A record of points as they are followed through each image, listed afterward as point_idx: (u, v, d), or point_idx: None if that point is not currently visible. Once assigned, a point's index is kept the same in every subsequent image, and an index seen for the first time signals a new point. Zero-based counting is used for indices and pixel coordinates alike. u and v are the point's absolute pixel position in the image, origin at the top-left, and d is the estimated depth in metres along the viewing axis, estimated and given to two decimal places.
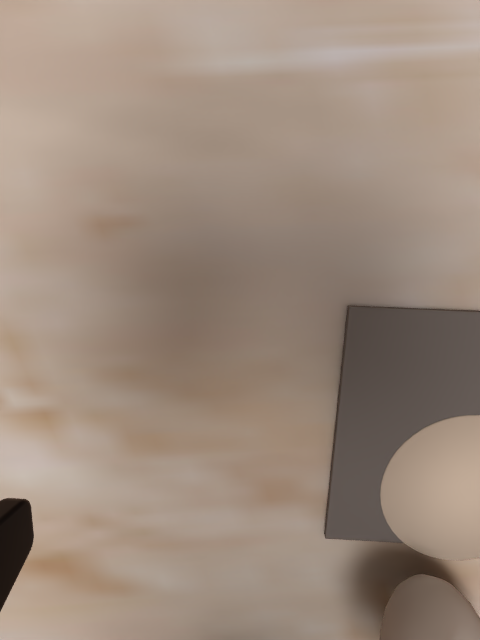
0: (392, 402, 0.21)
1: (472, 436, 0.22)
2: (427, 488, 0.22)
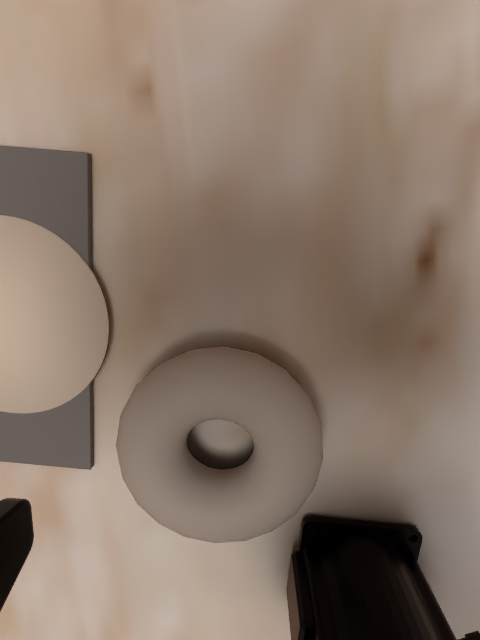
0: None
1: None
2: (8, 362, 0.19)
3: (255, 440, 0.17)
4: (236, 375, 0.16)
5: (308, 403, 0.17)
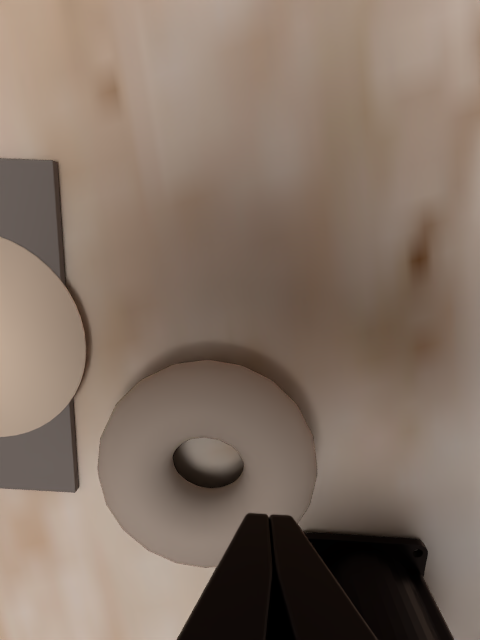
0: None
1: None
2: None
3: (243, 458, 0.16)
4: (219, 391, 0.15)
5: (298, 417, 0.16)
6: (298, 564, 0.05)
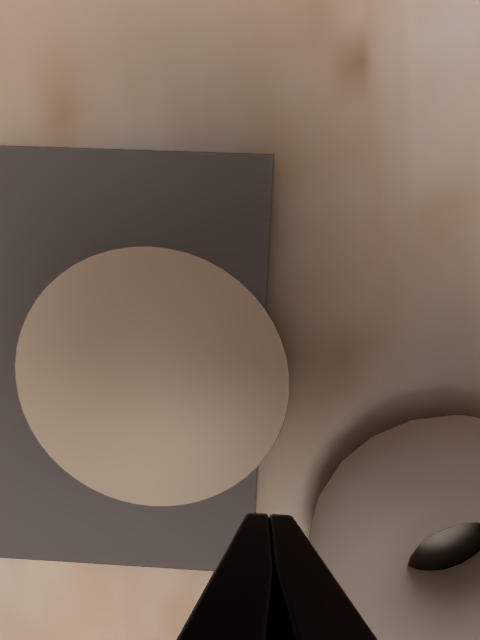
0: (17, 496, 0.15)
1: (51, 385, 0.14)
2: (149, 442, 0.14)
3: None
4: None
5: None
6: (298, 564, 0.05)
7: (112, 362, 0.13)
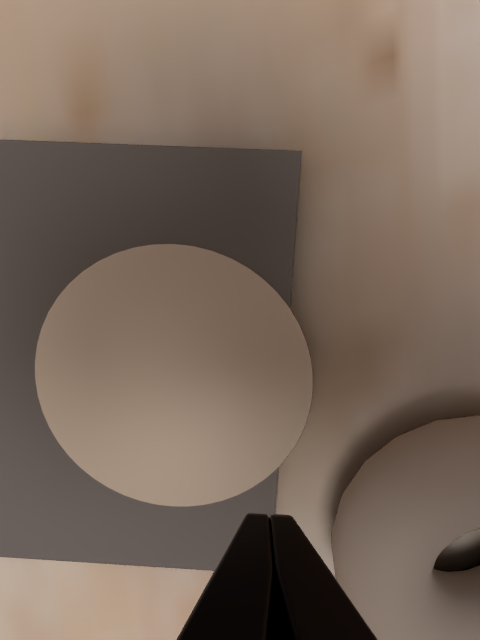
0: (34, 496, 0.15)
1: (71, 384, 0.13)
2: (170, 441, 0.14)
3: None
4: None
5: None
6: (298, 564, 0.05)
7: (133, 361, 0.13)
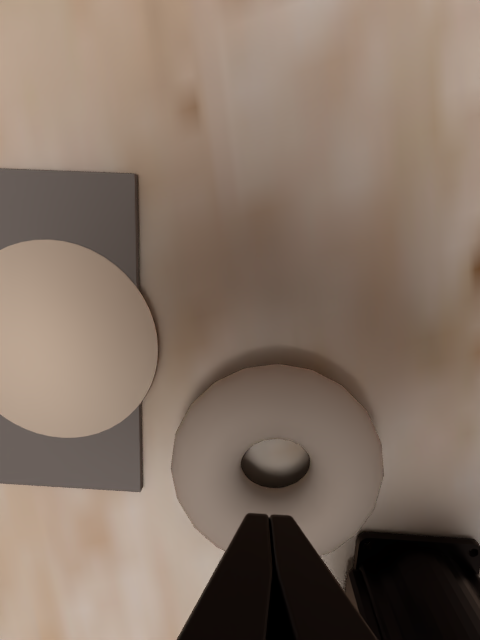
0: None
1: None
2: (57, 387, 0.18)
3: (315, 459, 0.16)
4: (296, 394, 0.15)
5: (368, 419, 0.16)
6: (298, 564, 0.05)
7: (26, 326, 0.18)
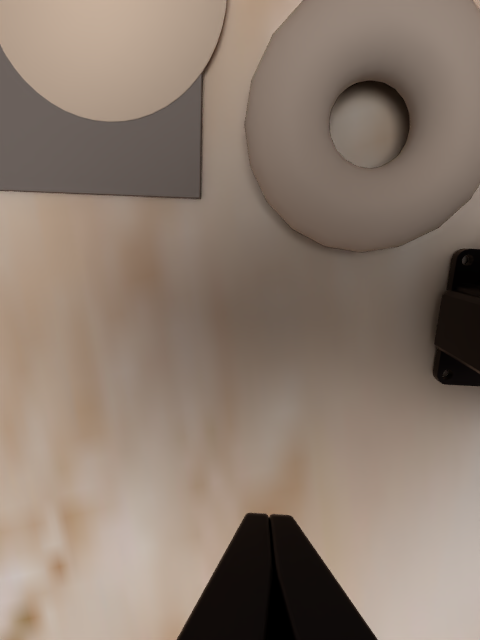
0: None
1: None
2: (104, 48, 0.15)
3: (427, 87, 0.14)
4: None
5: None
6: (298, 564, 0.05)
7: None
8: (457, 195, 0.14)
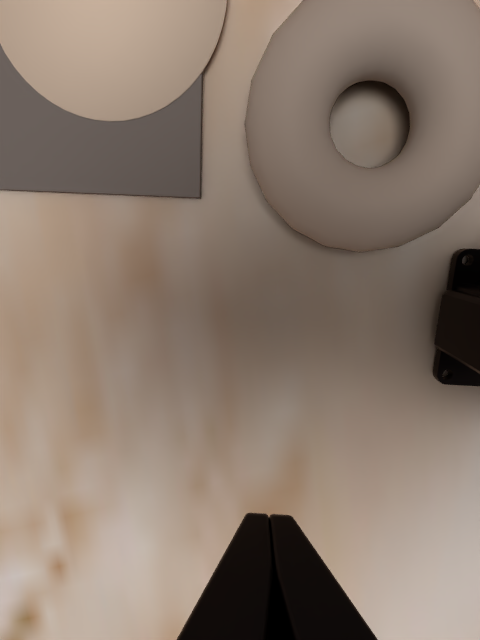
0: None
1: None
2: (104, 48, 0.15)
3: (427, 87, 0.14)
4: None
5: None
6: (298, 564, 0.05)
7: None
8: (457, 195, 0.14)
